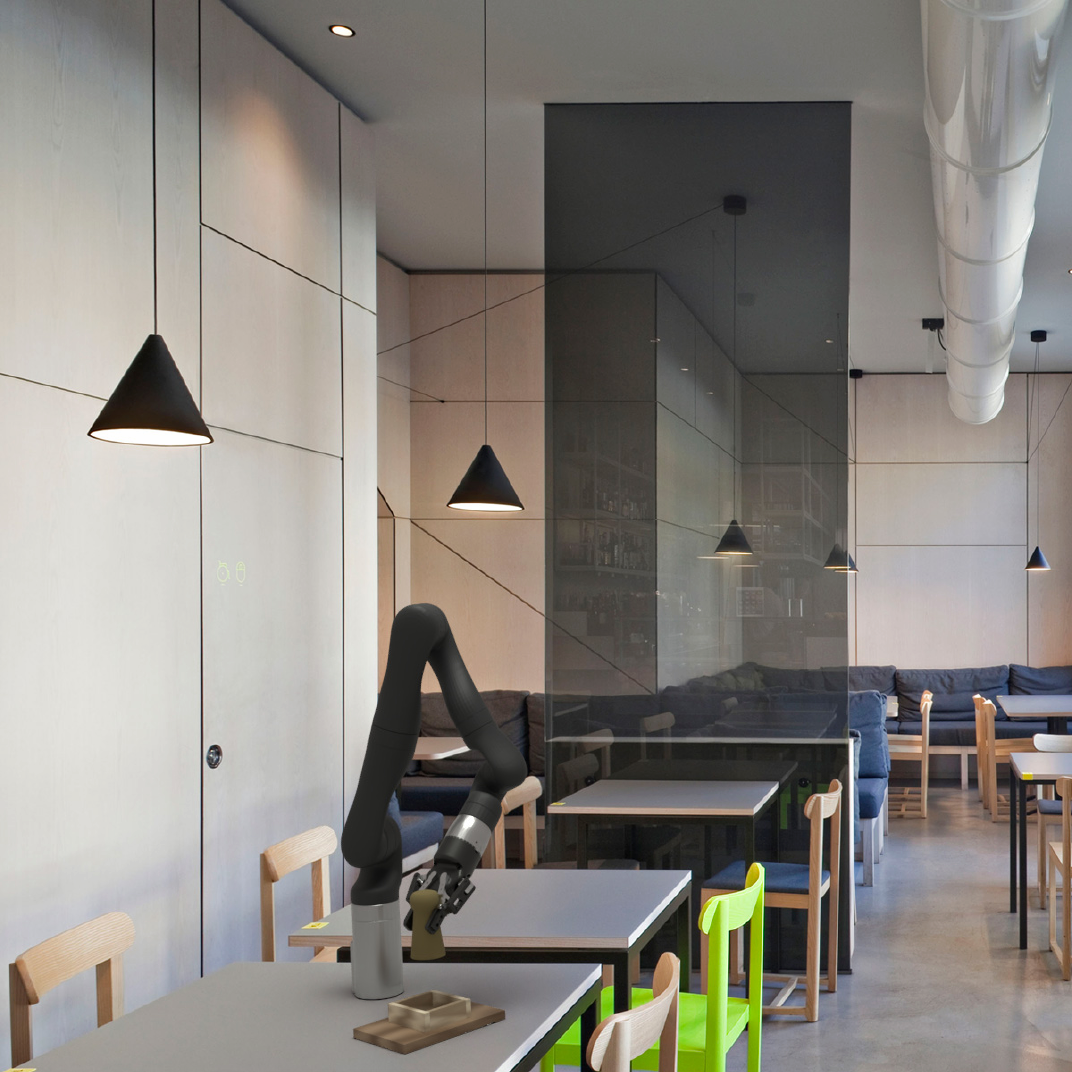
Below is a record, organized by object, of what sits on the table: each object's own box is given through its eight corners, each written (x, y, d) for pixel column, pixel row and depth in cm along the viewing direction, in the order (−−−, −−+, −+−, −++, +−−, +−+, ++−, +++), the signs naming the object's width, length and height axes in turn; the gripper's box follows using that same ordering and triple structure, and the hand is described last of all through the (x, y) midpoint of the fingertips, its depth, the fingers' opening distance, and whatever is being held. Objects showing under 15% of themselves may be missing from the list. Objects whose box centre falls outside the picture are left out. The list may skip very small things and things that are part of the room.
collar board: (353, 1037, 207) (352, 1010, 207) (452, 1005, 222) (451, 979, 222) (404, 1054, 197) (403, 1025, 197) (505, 1019, 212) (503, 992, 212)
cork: (440, 959, 207) (436, 893, 208) (406, 960, 208) (401, 894, 209) (449, 950, 213) (445, 886, 214) (416, 951, 214) (412, 887, 215)
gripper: (423, 831, 222) (377, 913, 212) (481, 836, 213) (435, 922, 203) (445, 856, 226) (401, 937, 216) (503, 861, 217) (459, 947, 207)
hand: (418, 929), depth 210 cm, fingers closed on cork, 4 cm apart
